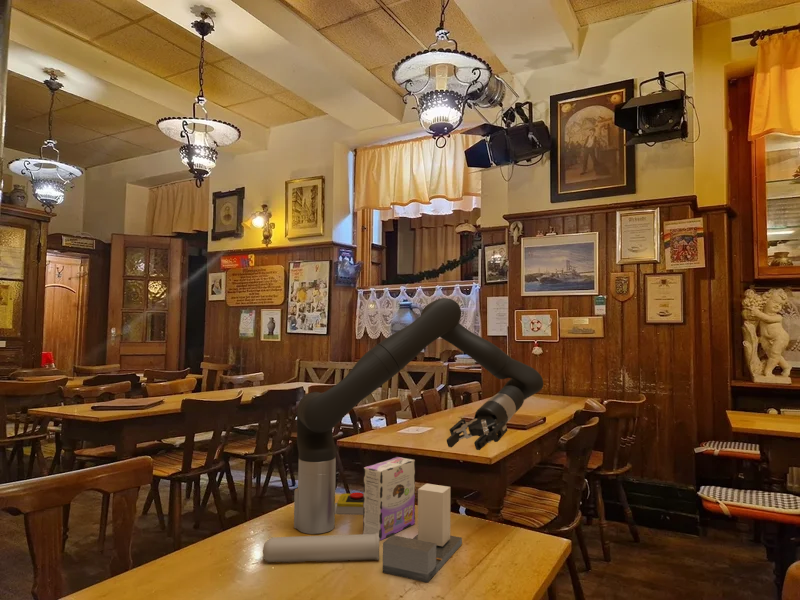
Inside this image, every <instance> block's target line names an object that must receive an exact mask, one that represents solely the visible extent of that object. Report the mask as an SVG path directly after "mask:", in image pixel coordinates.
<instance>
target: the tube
mask: <svg viewBox="0 0 800 600" xmlns="http://www.w3.org/2000/svg"><path fill="white" fill-rule="evenodd" d="M262 555H263V556H262V557H263V559H264V560H265V561H266V562H267V563H269V562H282V563H306V562H305V561H316V562H343V561H344V562H345V561H346V562H347V561H348V560H350V561H379V560H380V541H379V533H376V534H363V533H361V534H339V535H338V534H335V535H333V534H332V535H306V536H273V537H270V538H268V539H267V541H265V542H264V543H263V547H262Z"/></svg>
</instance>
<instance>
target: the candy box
mask: <svg viewBox="0 0 800 600" xmlns="http://www.w3.org/2000/svg"><path fill="white" fill-rule="evenodd" d="M415 477H416V460H415V459H412V458H407V457H400V456H395V457H393V458H390V459H387V460H384V461H381V462H377V463H375V464H371V465H368V466H365V467H363V494H364V506H363V507H364V509H363V515H362V516H363V518H362V519H363V521H362V523H363V525H362V534H376V533H379V542H380V541H382V540H386V539H388V538H389V537H391V536H392V535H396V534H397V533H398V532H401V531H403V530H405V529H407V528H409V527H412V526H413V525H415V523H416V513H415V512H416V505H415V504H416V503H415V502H416V497H415V496H416V489H415V488H416V484H415V483H416V481H415V480H416V478H415Z"/></svg>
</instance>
